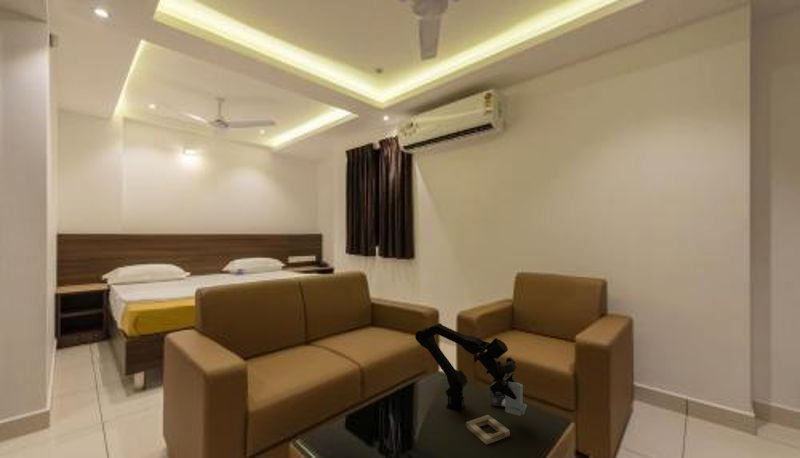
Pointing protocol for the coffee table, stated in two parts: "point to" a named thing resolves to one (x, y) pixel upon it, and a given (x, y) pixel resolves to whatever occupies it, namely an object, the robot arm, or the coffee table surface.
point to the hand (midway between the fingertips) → (517, 396)
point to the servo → (515, 405)
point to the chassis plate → (485, 437)
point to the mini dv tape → (496, 398)
